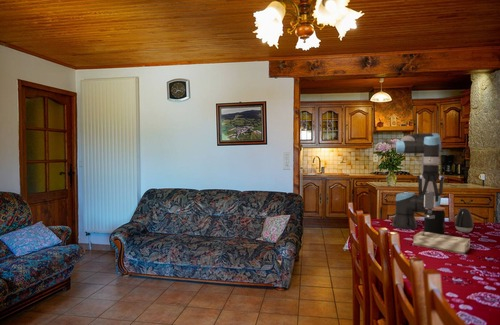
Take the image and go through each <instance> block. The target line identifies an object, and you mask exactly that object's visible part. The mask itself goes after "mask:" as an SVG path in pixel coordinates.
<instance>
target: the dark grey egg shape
mask: <svg viewBox="0 0 500 325" xmlns="http://www.w3.org/2000/svg"><path fill="white" fill-rule="evenodd" d="M454 226H455V229H456V230H457V231H458V232H460V233H470V232H472V231H473V228H474V220H473V216H472V213H471V211H470V210H469V209H468V208H466V207H463V208H461V207H459V210H458V211H457V214H456V217H455V220H454Z"/></svg>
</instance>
